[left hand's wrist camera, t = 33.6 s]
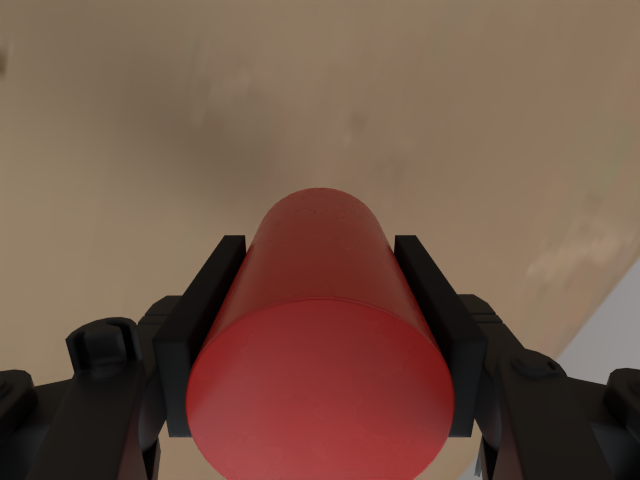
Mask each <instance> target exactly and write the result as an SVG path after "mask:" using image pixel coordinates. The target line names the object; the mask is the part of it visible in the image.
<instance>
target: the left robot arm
mask: <svg viewBox="0 0 640 480" xmlns="http://www.w3.org/2000/svg"><path fill="white" fill-rule="evenodd" d="M245 255H246V243H245V235H225V236H224V237H223V239H222V240H221V241H220V243H219V244H218V246H217V247H216V248H215V250H214V251H213V253H212V254H211V256H210V257H209V258H208V260H207V261H206V263H205V264H204V266H203V267H202V268H201V270H200V271H199V273H198V274H197V276H196V277H195V278H194V280H193V281H192V283H191V284H190V286H189V287H188V288H187V290H186V291H185V293H184V294H183V295H182V296H165V297H164V298H162V299H161V300H159V301H157V302H156V303H154V304H153V305H152V306H151V307H150V309H149V310H148V311H147V312H146V313H145V316H143V317H142V318H141V320H140V321H139V322H138V325H136V323H135V322H134V321H132V320H131V319H128V318H123V317H111V318H105V319H100V320H96V321H93V322H91V323H88V324H86V325H83V326H81V327H80V328H78V329H76V330H75V331H73V332H72V333H71V334H70V335H69V336H68V337H67V338H66V339H65V340H66V344H67V347H68V351H69V355H70V358H71V362H72V366H73V369H74V375H73V377H72V379H68V380H64V381H60V382H55V383H50V384H45V385H40V386H35V387H34V384H33V381H32V378H31V375H30V374H29V373H27V372H26V371H23V370H7V371H0V480H157V479H158V470H159V462H160V453H161V450H160V443H159V438H158V435H159V433H160V431H161V429H162V426H163V424H164V422H165V420H166V422H167V427H168V433H169V437H192V435H191V432H190V429H189V426H188V423H187V417H186V411H185V392H186V386H187V381H188V378H189V375H190V372H191V369H192V366H193V364H194V362H195V360H196V358H197V356H198V354H199V352H200V349H201V347H202V345H203V343H204V341H205V339H206V337H207V335H208V333H209V331H210V329H211V326H212V324H213V322H214V320H215V318H216V316H217V314H218V312H219V310H220V308H221V306H222V303H223V301H224V299H225V297H226V295H227V293H228V291H229V289H230V287H231V285H232V283H233V280H234V278H235V276H236V274H237V272H238V270H239V268H240V266H241V264H242V262H243V260H244V257H245ZM394 255H395V257H396V259H397V261H398V264H399V266H400V268H401V270H402V272H403V274H404V276H405V278H406V280H407V282H408V284H409V286H410V289H411V291H412V293H413V295H414V297H415V299H416V301H417V303H418V305H419V307H420V309H421V311H422V314H423V316H424V318H425V320H426V322H427V324H428V326H429V328H430V330H431V332H432V334H433V336H434V339H435V341H436V343H437V345H438V347H439V349H440V351H441V353H442V355H443V357H444V359H445V361H446V364H447V366H448V369H449V371H450V374H451V377H452V380H453V385H454V391H455V412H454V419H453V424H452V427H451V430H450V433H449V436H448V437H471V434H472V429H473V423H474V418H475V420H476V422H477V424H478V426H479V428H480V430H481V432H482V438H481V443H480V448H479V453H478V459H477V464H476V469H475V476H478V477H480V473H481V469H482V478H483V480H640V370H638V369H631V368H621V369H616V370H614V371H613V372H612V373H610V376H609V379H608V382H607V385H603V384H599V383H594V382H589V381H584V380H579V379H574V378H571V377H567V375H566V373H565V371H564V370H563V369H562V367H561V366H560V365H559V364H558V363H557V362H555V361H554V360H552V359H551V358H550V357H548V356H546V355H543V354H541V353H539V352H536V351H533V350H529V349H525V348H524V347H523V346H522V344H521V343H520V342H519V341H518V339H517V338H516V337H515V336H514V335H513V333H512V332H511V331H510V330H509V329H508V327H507V326H506V325H505V324H503V321H502V320H501V319H500V318H499V316H498V315H496V313H495V312H494V310H493V309H492V308H491V307H490V305H489V304H488V303H487V302H485V301H483V300H482V299H480V298H479V297H477V296H475V295H474V294H456V292H455V291H454V289H453V288H452V287H451V285H450V284H449V282H448V281H447V279H446V278H445V277H444V275H443V274H442V272H441V271H440V269H439V268H438V267H437V265H436V264H435V262H434V261H433V260H432V258H431V257H430V255H429V254H428V252H427V251H426V250H425V248H424V247H423V245H422V244H421V242H420V241H419V240H418V238H417V237H416V235H395V246H394Z"/></svg>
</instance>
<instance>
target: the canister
mask: <svg viewBox="0 0 640 480" xmlns="http://www.w3.org/2000/svg"><path fill="white" fill-rule="evenodd" d="M185 411H186V417H187V423H188V426H189V429H190V432H191V435H192V437H193V439H194V441H195V443H196V445H197V447H198V449H199V450H200V452H201V453H202V455H203V456H204V457H205V459H206V460H207V461H208V462H209V463H210V464H211V466H212V467H213V468H214V469H215V470H216V471H217V472H219V473H220V474H221V475H222V476H223V477H225V478H226V479H227V480H413V479H414V478H416V477H417V476H418V475H419V474H420V473H422V472H423V471H424V470H425V469H426V468H427V467H428V466H429V465H430V464H431V462H432V461H433V460H434V459H435V458H436V456H437V455H438V453H439V452H440V451H441V449H442V448H443V446H444V444H445V442H446V440H447V438H448V436H449V433H450V430H451V427H452V424H453V419H454V412H455V391H454V385H453V380H452V377H451V374H450V371H449V369H448V366H447V364H446V361H445V359H444V357H443V355H442V353H441V351H440V349H439V347H438V345H437V343H436V341H435V339H434V336H433V334H432V332H431V330H430V328H429V326H428V324H427V322H426V320H425V318H424V316H423V314H422V311H421V309H420V307H419V305H418V303H417V301H416V299H415V297H414V295H413V293H412V291H411V289H410V286H409V284H408V282H407V280H406V278H405V276H404V274H403V272H402V270H401V268H400V266H399V264H398V261H397V259H396V257H395V255H394V253H393V251H392V249H391V247H390V245H389V243H388V241H387V239H386V236H385V234H384V232H383V230H382V228H381V226H380V224H379V222H378V220H377V219H376V217H375V215H374V214H373V213H372V211H371V210H370V209H369V208H368V207H367V206H366V205H365V204H364V203H362V202H361V201H360V200H358V199H357V198H355V197H353V196H352V195H350V194H347V193H345V192H343V191H339V190H335V189H330V188H310V189H305V190H301V191H297V192H295V193H293V194H290V195H288V196H287V197H285V198H283V199H281V200H280V201H279V202H278V203H276V204H275V205H274V206H273V207H272V208H271V209H270V210H269V211H268V213H267V214H266V215H265V217H264V218H263V220H262V222H261V224H260V226H259V228H258V230H257V232H256V234H255V237H254V239H253V241H252V243H251V245H250V247H249V249H248V251H247V253H246V255H245V257H244V260H243V262H242V264H241V266H240V268H239V270H238V272H237V274H236V276H235V278H234V280H233V283H232V285H231V287H230V289H229V291H228V293H227V295H226V297H225V299H224V301H223V303H222V306H221V308H220V310H219V312H218V314H217V316H216V318H215V320H214V322H213V324H212V326H211V329H210V331H209V333H208V335H207V337H206V339H205V341H204V343H203V345H202V347H201V349H200V352H199V354H198V356H197V358H196V360H195V362H194V364H193V366H192V369H191V372H190V375H189V378H188V381H187V386H186V392H185Z"/></svg>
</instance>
